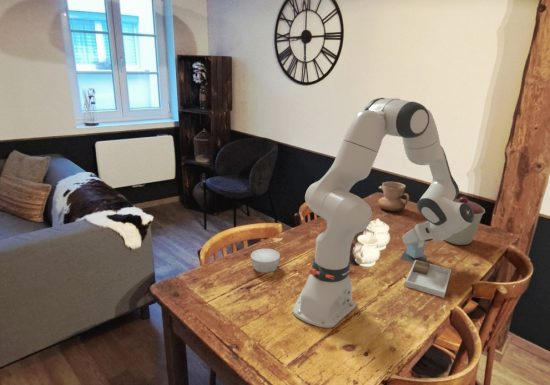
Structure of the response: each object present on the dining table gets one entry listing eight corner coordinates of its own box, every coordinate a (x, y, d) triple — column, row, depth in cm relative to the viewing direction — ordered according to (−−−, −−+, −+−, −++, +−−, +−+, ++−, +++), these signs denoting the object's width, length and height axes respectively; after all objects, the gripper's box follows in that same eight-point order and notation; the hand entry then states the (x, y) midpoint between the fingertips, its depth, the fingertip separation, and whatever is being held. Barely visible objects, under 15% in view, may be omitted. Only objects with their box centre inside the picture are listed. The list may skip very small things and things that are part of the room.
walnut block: (426, 275, 140) (427, 269, 139) (412, 271, 143) (413, 265, 142) (428, 269, 144) (429, 263, 144) (415, 265, 147) (416, 260, 146)
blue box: (423, 256, 152) (427, 234, 148) (414, 258, 150) (418, 236, 147) (414, 251, 156) (417, 229, 153) (405, 252, 154) (409, 230, 151)
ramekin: (244, 266, 144) (244, 254, 142) (264, 257, 152) (265, 245, 150) (265, 278, 137) (265, 265, 135) (285, 267, 145) (285, 255, 143)
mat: (423, 266, 148) (423, 264, 148) (399, 260, 152) (400, 258, 152) (426, 256, 155) (427, 255, 155) (404, 251, 159) (405, 250, 159)
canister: (426, 233, 177) (433, 191, 170) (457, 230, 182) (465, 189, 175) (453, 251, 161) (462, 205, 154) (487, 246, 165) (497, 202, 159)
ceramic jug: (370, 207, 208) (372, 183, 203) (384, 201, 217) (387, 178, 213) (399, 217, 196) (403, 191, 191) (412, 210, 205) (416, 186, 200)
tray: (443, 299, 127) (445, 292, 126) (404, 287, 133) (405, 281, 132) (450, 275, 142) (451, 269, 141) (414, 265, 148) (415, 259, 147)
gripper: (454, 218, 145) (431, 231, 157) (413, 225, 138) (392, 238, 149) (461, 233, 143) (437, 245, 154) (419, 241, 135) (398, 253, 147)
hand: (415, 241), depth 152 cm, fingers closed on blue box, 4 cm apart
